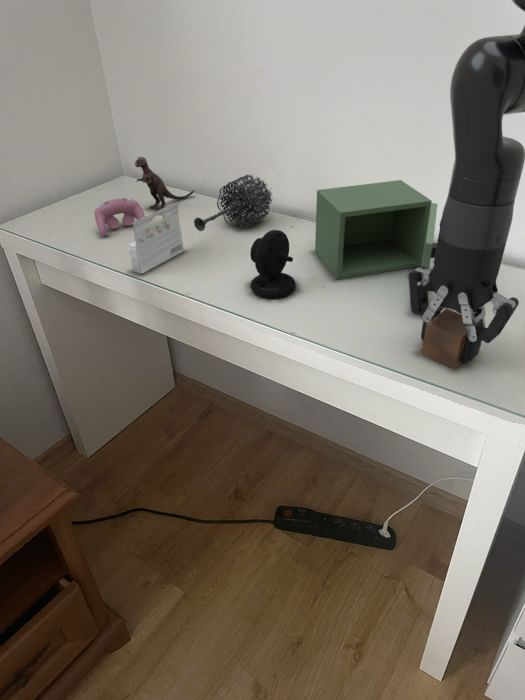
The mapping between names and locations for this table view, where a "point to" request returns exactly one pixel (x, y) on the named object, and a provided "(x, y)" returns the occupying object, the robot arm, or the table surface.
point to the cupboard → (370, 228)
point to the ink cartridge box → (156, 239)
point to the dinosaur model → (156, 185)
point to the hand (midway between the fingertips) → (447, 350)
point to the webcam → (272, 265)
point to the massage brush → (241, 202)
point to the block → (445, 338)
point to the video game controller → (116, 207)
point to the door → (430, 241)
